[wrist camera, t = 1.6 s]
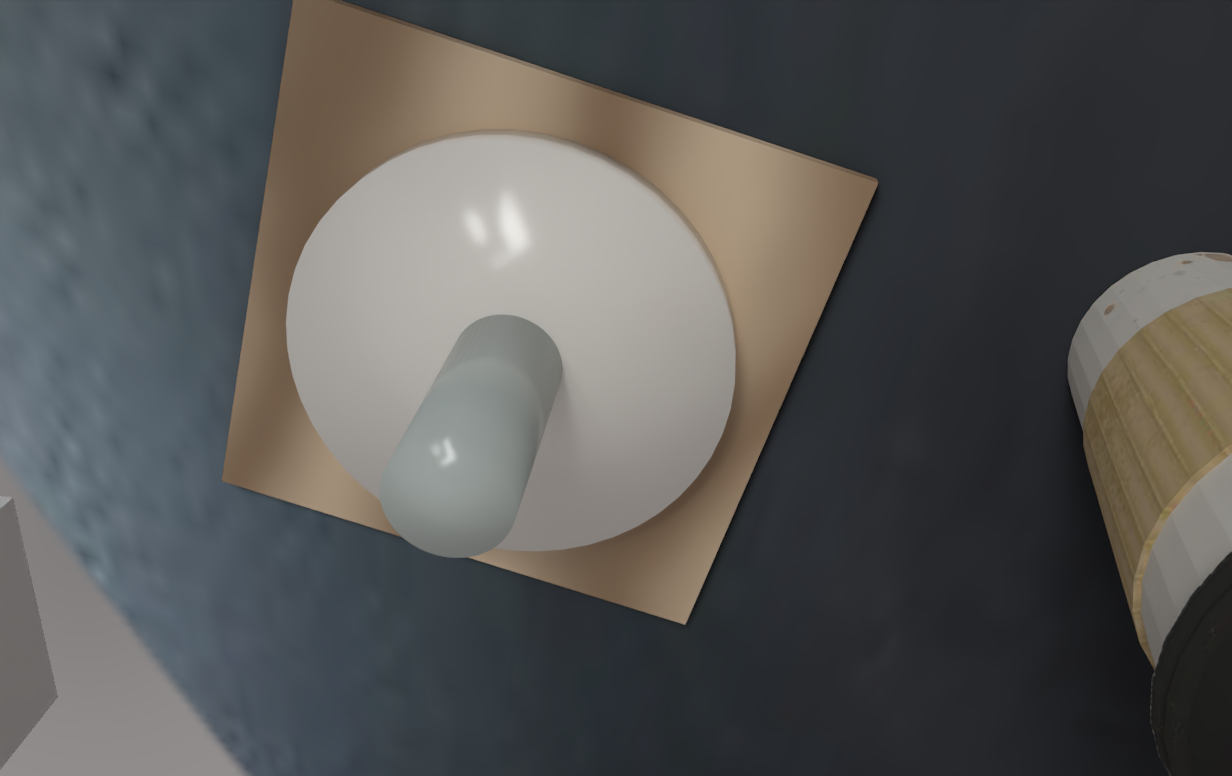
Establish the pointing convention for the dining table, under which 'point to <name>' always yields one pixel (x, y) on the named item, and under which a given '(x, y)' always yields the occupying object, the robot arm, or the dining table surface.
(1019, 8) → the dining table surface
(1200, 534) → the coffee cup
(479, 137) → the lid
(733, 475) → the mat
